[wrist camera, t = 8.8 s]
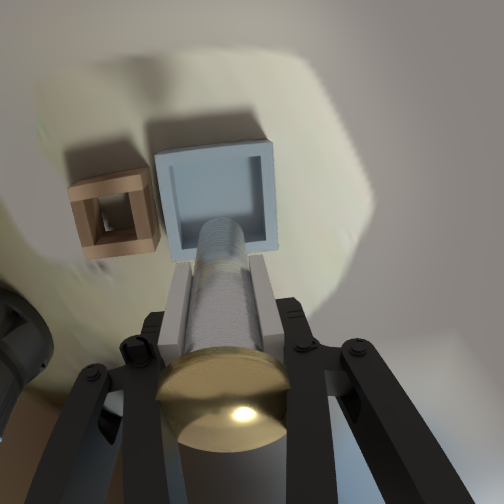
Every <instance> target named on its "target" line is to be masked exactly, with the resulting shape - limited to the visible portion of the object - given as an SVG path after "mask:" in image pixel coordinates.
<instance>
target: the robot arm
mask: <svg viewBox="0 0 504 504" xmlns="http://www.w3.org/2000/svg"><path fill="white" fill-rule="evenodd" d="M248 257H249V268H250V276H251V281H252V287H253V292H254V298H255V304H256V309H257V315H258V320H259V326H260V332H261V337H262V343H263V348H264V353H266V354H268V355H270V356H272V357H274V358H275V359H277V360H278V361H280V362H281V363H282V364H283V365H285V366H286V371H287V375H288V379H289V383H290V387H291V389H287V454H286V455H287V457H286V504H338V495H337V483H336V471H335V461H334V450H333V440H332V430H331V422H330V413H329V404H328V397H327V396H335V397H336V399H337V401H338V403H339V406H340V408H341V410H342V412H343V414H344V416H345V418H346V420H347V422H348V425H349V427H350V429H351V431H352V433H353V435H354V437H355V439H356V441H357V444H358V446H359V448H360V450H361V452H362V454H363V456H364V458H365V461H366V463H367V465H368V467H369V469H370V471H371V473H372V476H373V478H374V480H375V482H376V484H377V486H378V488H379V491H380V493H381V495H382V497H383V499H384V501H385V503H386V504H475V502H474V501H473V499H472V497H471V496H470V494H469V492H468V491H467V489H466V487H465V485H464V484H463V482H462V480H461V479H460V477H459V475H458V474H457V472H456V470H455V469H454V467H453V466H452V464H451V462H450V461H449V459H448V458H447V456H446V454H445V453H444V451H443V450H442V448H441V446H440V445H439V443H438V442H437V440H436V438H435V437H434V435H433V434H432V432H431V431H430V429H429V427H428V426H427V425H426V423H425V421H424V420H423V418H422V417H421V415H420V414H419V412H418V411H417V409H416V408H415V406H414V404H413V403H412V402H411V400H410V399H409V397H408V395H407V394H406V393H405V391H404V389H403V388H402V387H401V385H400V384H399V382H398V381H397V379H396V378H395V376H394V375H393V373H392V372H391V370H390V369H389V368H388V366H387V364H386V363H385V362H384V360H383V359H382V357H381V356H380V355H379V353H378V352H377V350H376V349H375V347H374V346H373V345H372V344H371V343H370V342H369V341H367V340H365V339H359V338H355V339H350V340H347V341H346V342H345V343H344V344H343V345H342V347H341V348H340V347H328V346H324V345H322V344H320V343H319V341H318V340H317V339H316V338H314V337H313V335H312V333H311V330H310V327H309V324H308V322H307V319H306V317H305V314H304V311H303V309H302V306H301V303H300V302H299V301H297V300H296V299H295V298H294V297H291V298H283V299H275V298H274V294H273V290H272V287H271V283H270V279H269V276H268V272H267V269H266V265H265V261H264V258H263V254H262V255H253V256H248ZM192 280H193V276H192V270H191V265H190V262H187V263H177V264H176V267H175V271H174V275H173V279H172V283H171V287H170V291H169V295H168V300H167V304H166V308H165V311H162V312H151V313H150V314H149V315H148V316H147V317H146V318H145V320H144V324H143V328H142V330H141V334H140V335H134V336H131V337H129V338H127V339H125V340H124V341H123V342H122V343H121V345H120V347H119V349H120V351H121V354H122V356H123V359H124V361H125V363H126V365H124V366H122V367H119V368H115V369H112V370H107V368H106V367H105V366H104V365H103V364H99V363H97V364H91V365H88V366H86V367H85V368H84V369H82V371H81V372H80V373H79V375H78V377H77V379H76V381H75V383H74V385H73V388H72V390H71V392H70V394H69V396H68V398H67V400H66V402H65V404H64V406H63V409H62V411H61V413H60V415H59V417H58V420H57V422H56V424H55V426H54V429H53V431H52V434H51V436H50V438H49V440H48V443H47V445H46V447H45V450H44V452H43V455H42V457H41V460H40V462H39V465H38V467H37V470H36V472H35V475H34V478H33V480H32V483H31V486H30V488H29V491H28V494H27V497H26V500H25V503H24V504H105V501H106V496H107V492H108V489H109V485H110V481H111V477H112V473H113V470H114V466H115V462H116V458H117V455H118V451H119V448H120V444H121V441H122V443H123V444H122V445H123V446H122V449H123V450H122V451H123V452H122V454H123V455H122V457H123V458H122V459H123V491H124V492H123V493H124V504H188V503H187V497H186V491H185V486H184V480H183V474H182V468H181V461H180V453H179V447H178V439H177V437H176V435H175V433H174V431H173V429H172V427H171V425H170V423H169V421H168V418H167V416H166V414H165V412H164V410H163V407H162V405H161V403H160V401H159V400H155V398H156V392H157V385H158V379H159V376H160V374H161V373H162V371H163V370H164V369H165V368H166V366H168V365H169V364H170V363H171V362H172V361H174V360H175V359H177V358H178V357H180V356H183V353H184V344H185V335H186V327H187V318H188V310H189V303H190V295H191V287H192ZM53 351H54V345H53V339H52V336H51V333H50V331H49V329H48V327H47V325H46V324H45V322H44V321H43V319H42V318H41V316H40V315H39V314H38V313H37V312H36V311H35V309H34V308H33V307H32V306H30V305H29V304H28V303H27V302H26V301H25V300H23V299H22V298H20V297H19V296H17V295H15V294H14V293H11V292H9V291H6V290H2V289H0V442H1V441H2V436H3V433H4V431H5V428H6V426H7V423H8V421H9V419H10V416H11V414H12V412H13V410H14V407H15V405H16V403H17V401H18V398H19V396H20V394H21V392H22V390H23V388H24V386H26V385H27V384H28V383H29V382H30V381H31V380H33V379H34V378H35V377H36V376H37V375H39V374H40V373H41V372H42V371H43V370H44V369H45V368H46V367H47V365H48V363H49V362H50V360H51V358H52V355H53Z"/></svg>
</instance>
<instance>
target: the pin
mask: <svg viewBox="0 0 504 504" xmlns="http://www.w3.org/2000/svg"><path fill="white" fill-rule="evenodd" d="M287 389H291V387H290V383H289V379H288V375H287V371H286V366H285V365H283V364H282V363H281V362H280V361H278V360H277V359H275V358H274V357H272V356H270V355H268V354H266V353H264V348H263V343H262V337H261V332H260V326H259V320H258V315H257V309H256V304H255V298H254V292H253V287H252V281H251V276H250V268H249V262H248V256H247V251H246V245H245V239H244V234H243V231H242V228H241V227H240V225H239V224H238V223H237V222H235V221H234V220H232V219H230V218H226V217H217V218H213V219H211V220H209V221H208V222H206V223H205V224H204V225H203V227H202V228H201V230H200V233H199V239H198V246H197V252H196V259H195V266H194V273H193V280H192V287H191V295H190V303H189V310H188V318H187V327H186V335H185V344H184V353H183V356H180V357H178V358H177V359H175V360H174V361H172V362H171V363H170V364H169V365H168V366H166V368H165V369H164V370H163V371H162V373H161V374H160V376H159V379H158V385H157V392H156V398H155V400H159V401H160V403H161V405H162V407H163V410H164V412H165V414H166V416H167V418H168V421H169V423H170V425H171V427H172V429H173V431H174V433H175V435H176V437H177V439H178V442H180V443H182V444H184V445H187V446H190V447H193V448H196V449H200V450H205V451H212V452H238V451H245V450H250V449H255V448H259V447H262V446H264V445H267V444H269V443H271V442H273V441H275V440H277V439H279V438H280V437H282V436H283V435H285V434H286V433H287Z"/></svg>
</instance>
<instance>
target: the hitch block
mask: <svg viewBox="0 0 504 504" xmlns="http://www.w3.org/2000/svg"><path fill="white" fill-rule="evenodd" d="M67 189H68V193H69V198H70V202H71V207H72V211H73V215H74V219H75V223H76V226H77V231H78V235H79V238H80V242H81V245H82V249H83V252H84V256H85V259H86V260H91V259H99V258H108V257H116V256H125V255H133V254H142V253H151V252H155V251H156V248H157V246H158V243H159V241H160V238H161V234H160V228H159V223H158V218H157V212H156V206H155V201H154V195H153V189H152V182H151V176H150V169H149V167H144V168H138V169H132V170H127V171H121V172H115V173H110V174H105V175H100V176H95V177H90V178H85V179H81V180H80V181H78V182H76V183H75V184H73V185H72V186H70V187H68V188H67ZM125 192H128V194H129V199H130V204H131V209H132V214H133V219H134V224H135V227H134V228H127V229H120V230H113V231H105V227H104V223H103V218H102V214H101V209H100V205H99V200H98V197H101V196H107V195H113V194H119V193H125Z"/></svg>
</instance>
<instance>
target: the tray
mask: <svg viewBox="0 0 504 504" xmlns="http://www.w3.org/2000/svg"><path fill="white" fill-rule="evenodd" d="M154 156H155V163H156V170H157V177H158V183H159V190H160V196H161V202H162V208H163V214H164V220H165V225H166V231H167V236H168V242H169V247H170V252H171V257H172V261H182V260H191V259H196V252H197V246H198V239H199V233H200V230H201V228H202V227H203V225H204V224H205V223H206V222H208V221H209V220H211V219H213V218H217V217H226V218H230V219H232V220H234V221H235V222H237V223H238V224H239V225H240V227H241V228H242V231H243V234H244V239H245V245H246V251H247V253H256V252H265V251H274V250H278V229H277V209H276V190H275V172H274V156H273V142H271V141H270V140H268V139H260V140H247V141H236V142H226V143H216V144H207V145H199V146H191V147H183V148H176V149H169V150H163V151H160V152H159V153H157V154H156V155H154Z"/></svg>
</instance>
